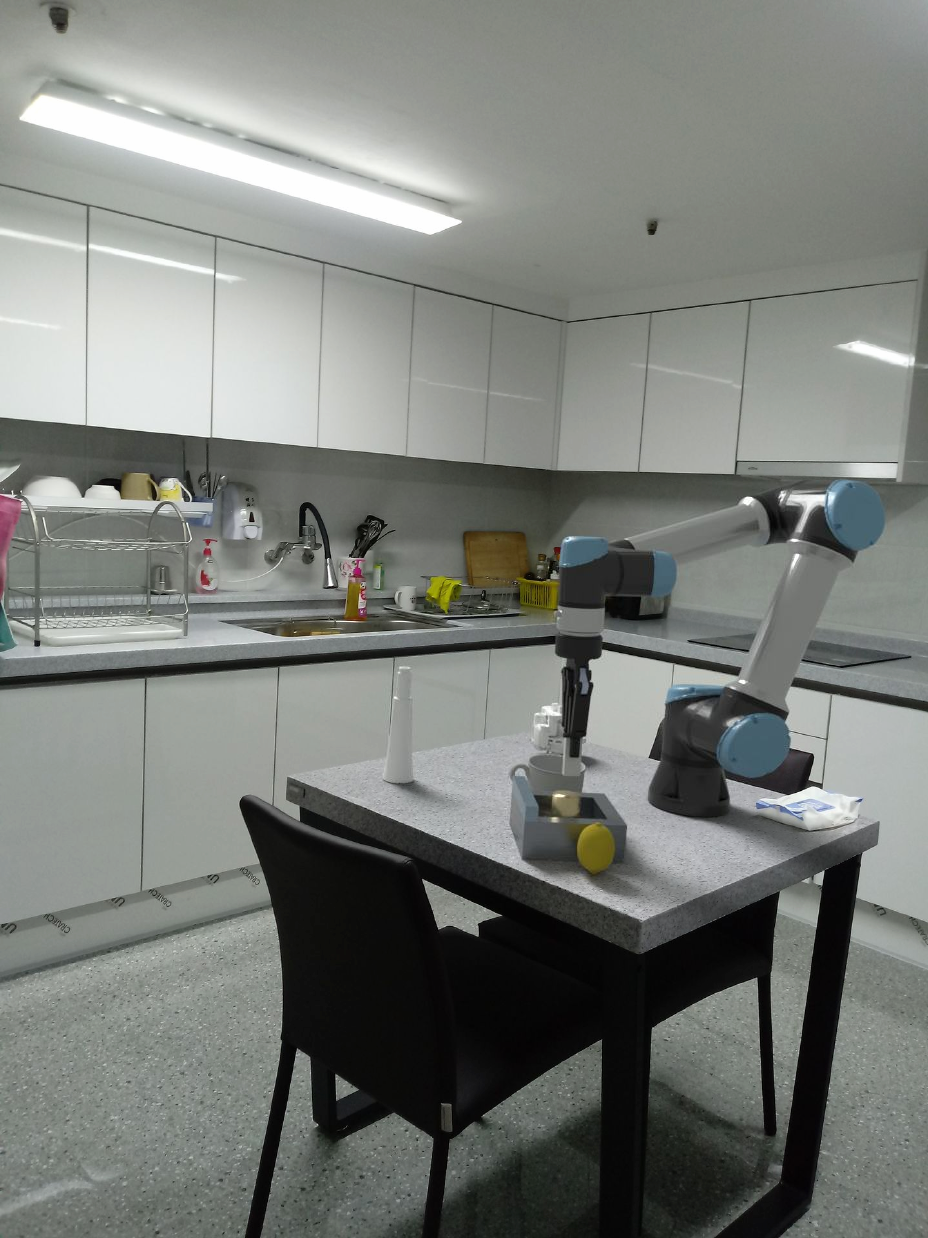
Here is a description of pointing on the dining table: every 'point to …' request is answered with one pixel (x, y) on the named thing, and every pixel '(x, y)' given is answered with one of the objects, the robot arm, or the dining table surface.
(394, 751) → the cosmetic bottle
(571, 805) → the brass cylinder
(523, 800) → the jig
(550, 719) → the mechanical part
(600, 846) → the lemon
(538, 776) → the teacup
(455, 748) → the dining table surface
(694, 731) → the robot arm
